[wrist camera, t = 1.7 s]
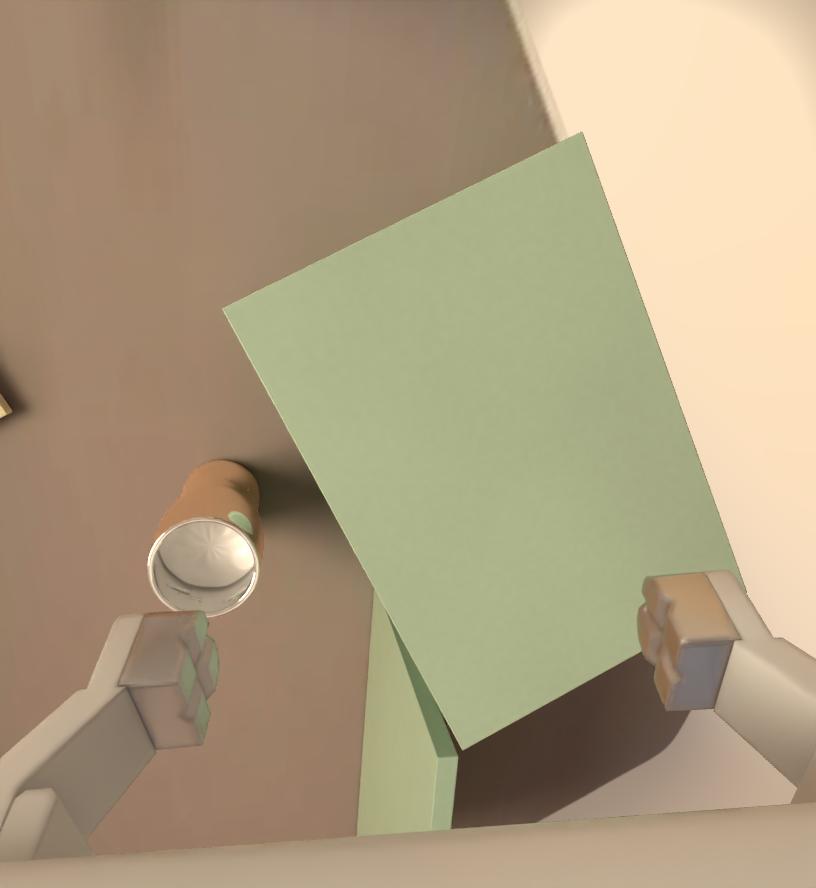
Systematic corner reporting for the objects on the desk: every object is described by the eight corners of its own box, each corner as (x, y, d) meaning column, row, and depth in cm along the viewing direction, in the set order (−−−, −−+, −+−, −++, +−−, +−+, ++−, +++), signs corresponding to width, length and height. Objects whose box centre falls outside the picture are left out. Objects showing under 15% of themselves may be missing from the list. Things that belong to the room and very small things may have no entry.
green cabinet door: (452, 578, 61) (559, 750, 39) (428, 831, 67) (509, 1111, 44) (374, 579, 60) (437, 757, 37) (356, 836, 65) (401, 1130, 43)
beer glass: (256, 542, 57) (251, 629, 43) (169, 529, 56) (134, 614, 41) (273, 462, 56) (273, 523, 42) (184, 447, 55) (153, 505, 40)
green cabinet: (389, 573, 60) (462, 751, 37) (243, 298, 53) (221, 308, 30) (569, 478, 62) (747, 592, 39) (450, 196, 54) (582, 130, 31)
